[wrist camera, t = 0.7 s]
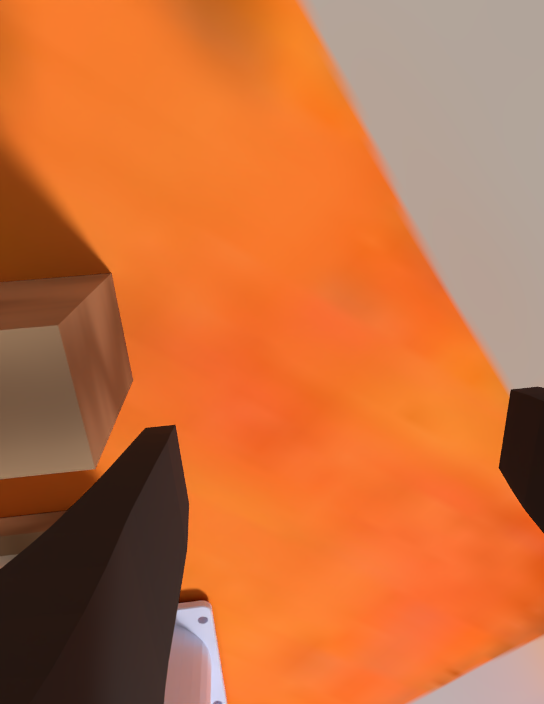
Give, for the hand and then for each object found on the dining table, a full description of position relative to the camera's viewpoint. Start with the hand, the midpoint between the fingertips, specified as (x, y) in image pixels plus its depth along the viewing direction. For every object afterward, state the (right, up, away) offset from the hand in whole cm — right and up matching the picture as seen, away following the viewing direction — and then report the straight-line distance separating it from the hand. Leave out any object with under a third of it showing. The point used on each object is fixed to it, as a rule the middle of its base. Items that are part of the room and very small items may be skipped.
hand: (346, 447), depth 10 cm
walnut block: (-10, +3, +8) cm, 13 cm away
